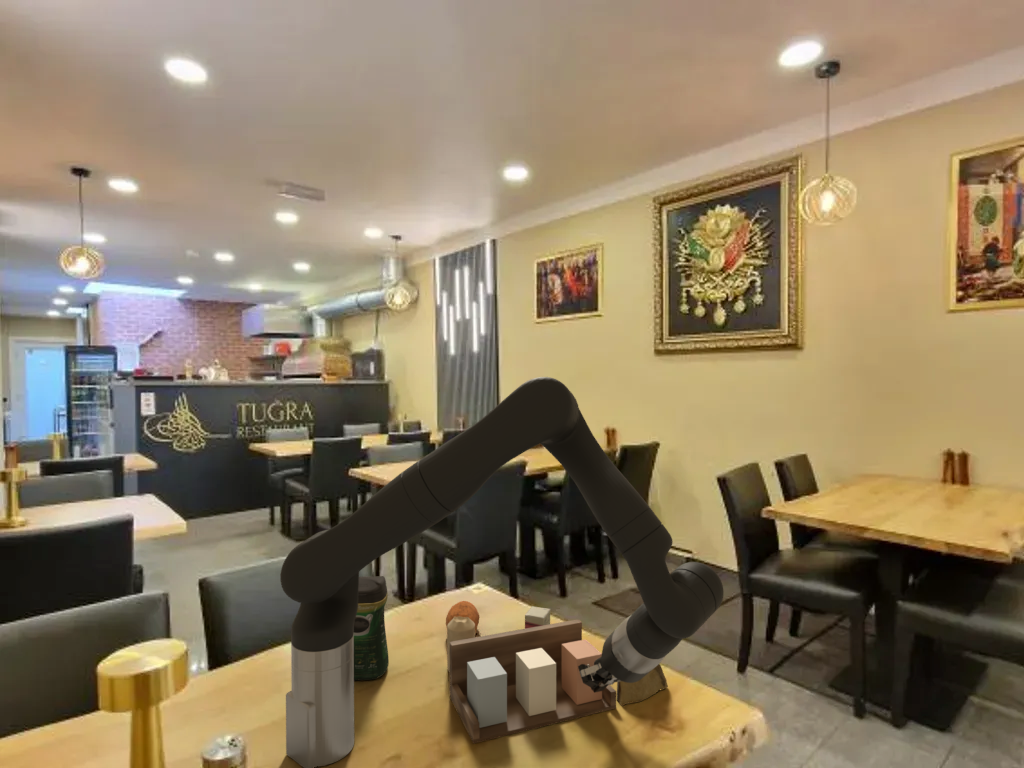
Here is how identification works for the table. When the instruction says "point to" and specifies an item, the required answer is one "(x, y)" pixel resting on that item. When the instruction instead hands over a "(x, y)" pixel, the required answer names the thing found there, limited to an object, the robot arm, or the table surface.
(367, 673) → the coffee jar
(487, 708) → the grey blue block
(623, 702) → the rock
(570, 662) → the key terracotta
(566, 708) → the tray
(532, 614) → the small box
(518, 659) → the cream rectangular block
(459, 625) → the candle
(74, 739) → the table surface
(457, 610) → the potato
